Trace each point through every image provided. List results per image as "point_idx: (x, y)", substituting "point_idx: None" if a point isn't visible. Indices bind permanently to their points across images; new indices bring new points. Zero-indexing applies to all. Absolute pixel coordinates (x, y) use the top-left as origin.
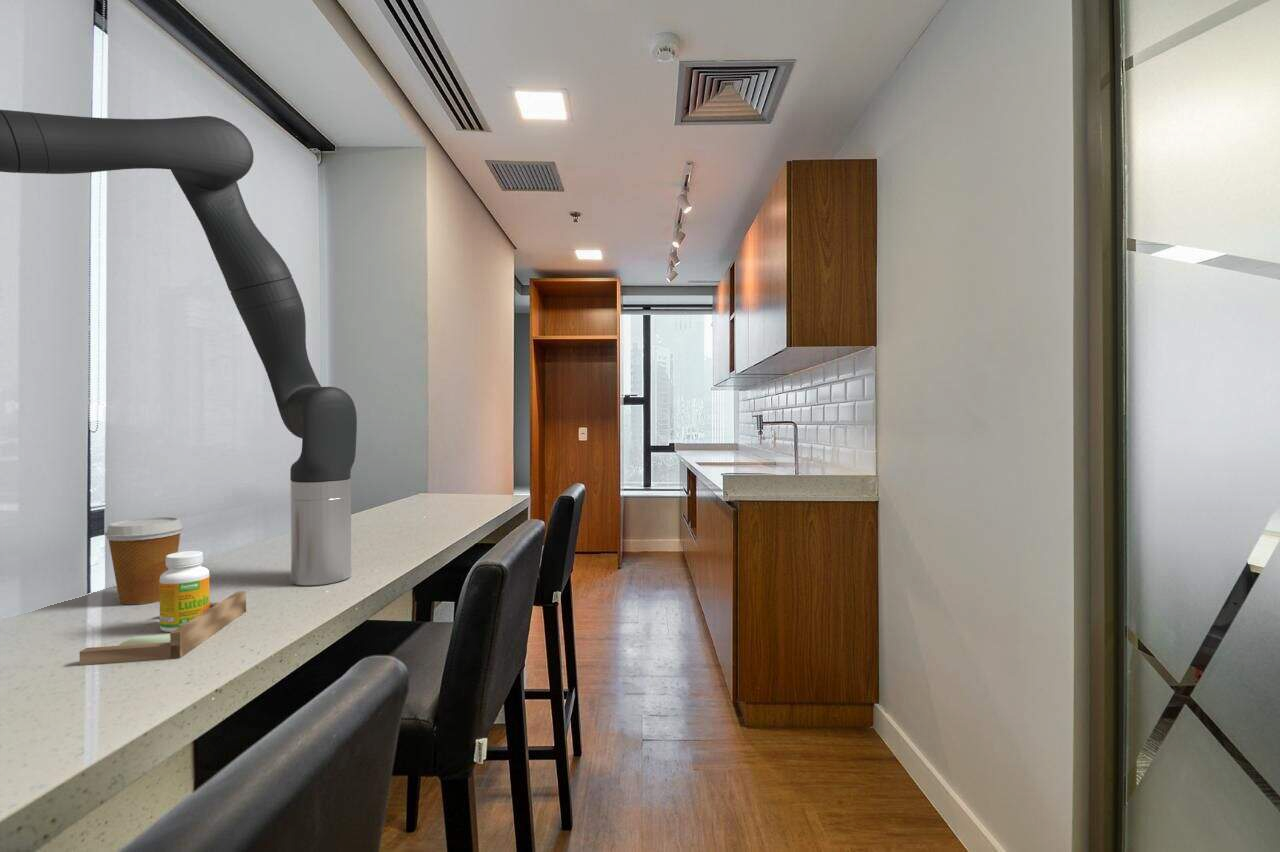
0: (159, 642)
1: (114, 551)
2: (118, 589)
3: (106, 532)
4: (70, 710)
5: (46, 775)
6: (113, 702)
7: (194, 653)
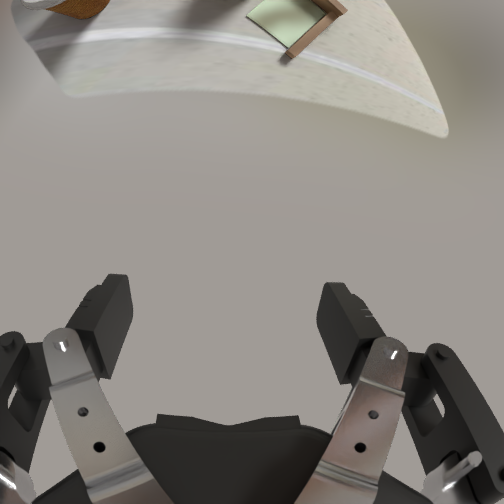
0: (285, 8)
1: (71, 2)
2: (84, 14)
3: (38, 8)
4: (382, 91)
5: (440, 126)
6: (388, 74)
7: None
